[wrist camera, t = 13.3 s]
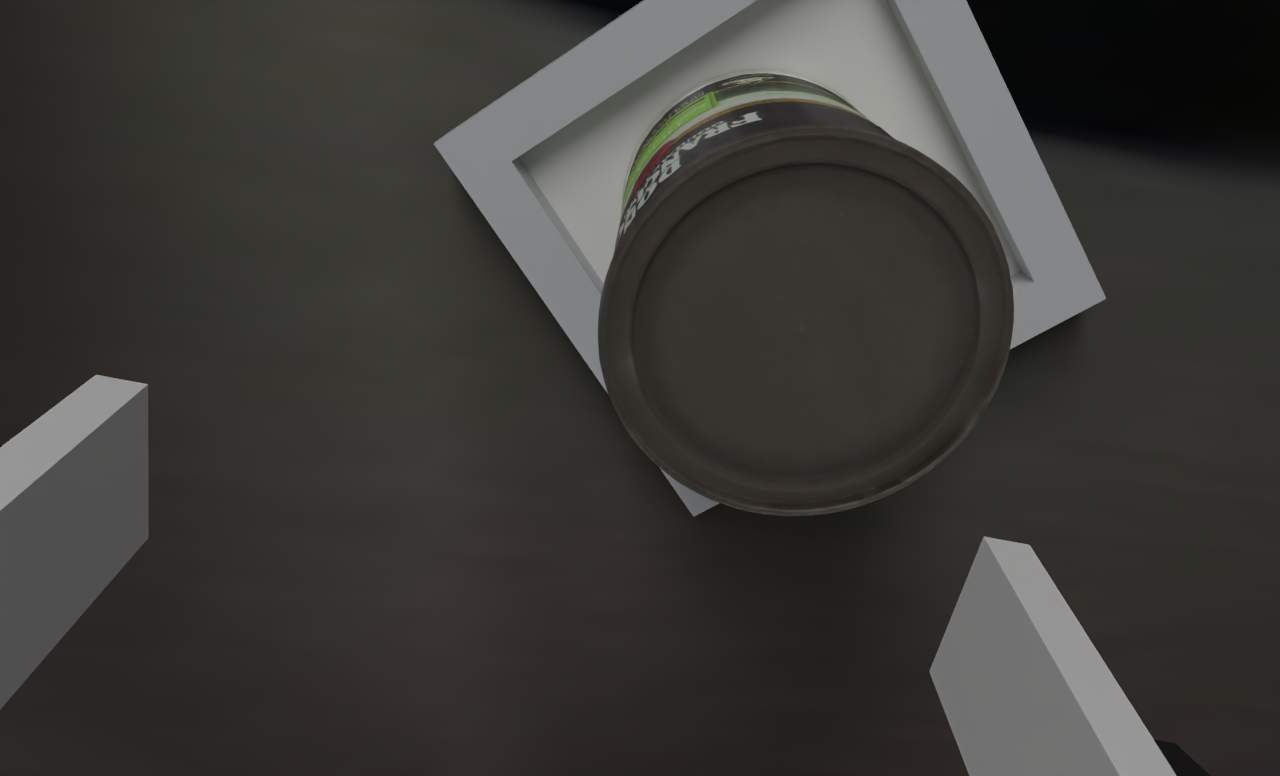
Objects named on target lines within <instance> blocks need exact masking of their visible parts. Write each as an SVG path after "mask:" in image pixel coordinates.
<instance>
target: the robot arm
mask: <svg viewBox="0 0 1280 776" xmlns="http://www.w3.org/2000/svg"><path fill="white" fill-rule="evenodd" d="M147 539H148V384H144V383H138V382H133V381H127V380H122V379H116V378H111V377H105V376H100V375H95V376H94V377H93V378H91V379H90V380H89V381H87V382H86V383H85V384H83V385H82V386H81V387H79V388H78V389H77V390H75V391H74V392H73V393H71V394H70V395H69V396H67V397H66V398H65V399H63V400H62V401H61V402H60V403H58V404H57V405H56V406H54V407H53V408H52V409H50V410H49V411H48V412H46V413H45V414H44V415H42V416H41V417H40V418H38V419H37V420H36V421H34V422H33V423H32V424H31V425H29V426H28V427H27V428H25V429H24V430H23V431H21V432H20V433H19V434H17V435H16V436H15V437H13V438H12V439H11V440H9V441H8V442H7V443H5V444H4V445H3V446H2V447H0V709H1V708H2V707H3V706H4V705H5V703H6V702H7V701H8V700H9V699H10V698H11V696H12V695H13V694H14V693H15V692H16V691H17V690H18V688H19V687H20V686H21V685H22V684H23V683H24V681H25V680H26V679H27V678H28V677H29V676H30V674H31V673H32V672H33V671H34V670H35V669H36V667H37V666H38V665H39V664H40V663H41V662H42V661H43V659H44V658H45V657H46V656H47V655H48V654H49V652H50V651H51V650H52V649H53V648H54V647H55V645H56V644H57V643H58V642H59V641H60V640H61V638H62V637H63V636H64V635H65V634H66V633H67V632H68V630H69V629H70V628H71V627H72V626H73V625H74V623H75V622H76V621H77V620H78V619H79V618H80V616H81V615H82V614H83V613H84V612H85V611H86V609H87V608H88V607H89V606H90V605H91V604H92V603H93V601H94V600H95V599H96V598H97V597H98V596H99V594H100V593H101V592H102V591H103V590H104V589H105V587H106V586H107V585H108V584H109V583H110V582H111V580H112V579H113V578H114V577H115V576H116V575H117V574H118V572H119V571H120V570H121V569H122V568H123V567H124V565H125V564H126V563H127V562H128V561H129V560H130V558H131V557H132V556H133V555H134V554H135V553H136V551H137V550H138V549H139V548H140V547H141V546H142V545H143V543H144V542H145V541H146V540H147ZM929 672H930V675H931V677H932V680H933V682H934V685H935V688H936V690H937V693H938V695H939V698H940V700H941V703H942V706H943V708H944V711H945V713H946V716H947V719H948V721H949V724H950V726H951V729H952V732H953V734H954V737H955V739H956V742H957V745H958V747H959V750H960V752H961V755H962V758H963V760H964V763H965V765H966V768H967V770H968V773H969V776H1210V775H1209V774H1208V773H1207V772H1206V771H1205V770H1204V769H1202V768H1201V767H1200V766H1199V765H1198V764H1197V763H1196V762H1195V761H1194V760H1193V759H1192V758H1191V757H1190V756H1188V755H1187V754H1186V753H1185V752H1184V751H1183V750H1182V749H1181V748H1180V747H1179V746H1178V745H1177V744H1175V743H1171V742H1165V741H1159V740H1154V739H1153V738H1152V736H1151V735H1150V733H1149V732H1148V730H1147V728H1146V727H1145V725H1144V724H1143V722H1142V721H1141V719H1140V718H1139V716H1138V714H1137V713H1136V711H1135V710H1134V708H1133V707H1132V705H1131V703H1130V702H1129V700H1128V699H1127V697H1126V696H1125V694H1124V692H1123V691H1122V689H1121V688H1120V686H1119V685H1118V683H1117V681H1116V680H1115V678H1114V677H1113V675H1112V674H1111V672H1110V670H1109V669H1108V667H1107V666H1106V664H1105V663H1104V661H1103V659H1102V658H1101V656H1100V655H1099V653H1098V652H1097V650H1096V648H1095V647H1094V645H1093V644H1092V642H1091V641H1090V639H1089V637H1088V636H1087V634H1086V633H1085V631H1084V630H1083V628H1082V627H1081V625H1080V623H1079V622H1078V620H1077V619H1076V617H1075V616H1074V614H1073V612H1072V611H1071V609H1070V608H1069V606H1068V605H1067V603H1066V601H1065V600H1064V598H1063V597H1062V595H1061V594H1060V592H1059V590H1058V589H1057V587H1056V586H1055V584H1054V583H1053V581H1052V579H1051V578H1050V576H1049V575H1048V573H1047V572H1046V570H1045V568H1044V567H1043V565H1042V564H1041V562H1040V561H1039V559H1038V557H1037V556H1036V554H1035V553H1034V551H1033V550H1032V548H1031V546H1030V545H1027V544H1021V543H1016V542H1011V541H1005V540H1000V539H994V538H989V537H983V540H982V542H981V545H980V547H979V550H978V552H977V555H976V557H975V560H974V562H973V565H972V567H971V570H970V572H969V575H968V577H967V579H966V582H965V584H964V587H963V589H962V592H961V594H960V597H959V599H958V602H957V604H956V607H955V609H954V612H953V614H952V617H951V619H950V622H949V624H948V627H947V629H946V632H945V634H944V637H943V639H942V642H941V644H940V647H939V649H938V651H937V654H936V656H935V659H934V661H933V664H932V666H931V669H930V671H929Z"/></svg>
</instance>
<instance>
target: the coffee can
mask: <svg viewBox="0 0 1280 776" xmlns="http://www.w3.org/2000/svg"><path fill="white" fill-rule="evenodd" d="M1013 323H1014V299H1013V286H1012V282H1011V278H1010V270H1009V265H1008V262H1007V259H1006V255H1005V252H1004V249H1003V247H1002V244H1001V242H1000V239H999V237H998V235H997V233H996V230H995V228H994V226H993V224H992V222H991V221H990V219H989V218H988V216H987V214H986V213H985V211H984V210H983V208H982V207H981V206H980V204H979V203H978V201H977V200H976V199H975V197H974V196H973V195H972V194H971V192H970V191H969V190H968V189H967V188H966V187H965V186H964V185H963V184H962V183H961V182H960V181H959V180H958V179H957V178H956V177H955V176H953V175H952V174H951V173H950V172H949V171H947V170H946V169H945V168H944V167H942V166H941V165H939V164H938V163H937V162H935V161H934V160H932V159H931V158H930V157H928V156H926V155H925V154H923V153H921V152H920V151H918V150H916V149H914V148H913V147H911V146H909V145H907V144H905V143H902V142H900V141H898V140H896V139H894V138H893V137H892V136H891V135H889V134H888V133H887V132H886V131H884V130H883V129H882V128H881V127H880V126H877V125H876V124H875V123H873V122H872V121H871V120H869V119H868V118H867V117H866V116H864V115H863V114H862V113H860V112H859V110H858V109H857V108H856V107H855V106H854V105H852V104H851V103H850V102H849V101H848V100H847V99H846V98H845V97H844V96H842V95H841V94H839V93H838V92H836V91H835V90H833V89H831V88H830V87H828V86H826V85H825V84H822V83H820V82H818V81H816V80H814V79H811V78H808V77H806V76H802V75H799V74H795V73H791V72H786V71H779V70H742V71H737V72H732V73H727V74H725V75H722V76H718V77H716V78H713V79H710V80H708V81H706V82H704V83H702V84H699V85H698V86H696V87H694V88H692V89H691V90H689V91H687V92H686V93H684V94H683V95H681V96H680V97H679V98H677V99H676V100H675V101H673V102H672V103H671V104H670V105H669V106H668V107H667V108H666V109H665V110H663V111H662V113H661V114H660V115H659V116H658V117H657V118H656V119H655V120H654V121H653V122H652V123H651V124H650V125H649V127H648V128H647V130H646V132H645V133H644V135H643V136H642V138H641V139H640V141H639V143H638V145H637V147H636V149H635V151H634V153H633V156H632V158H631V161H630V163H629V166H628V170H627V174H626V178H625V182H624V187H623V193H622V212H621V218H620V223H619V229H618V234H617V238H616V242H615V249H614V253H613V258H612V261H611V263H610V266H609V269H608V272H607V275H606V278H605V282H604V286H603V289H602V293H601V300H600V307H599V317H598V348H599V360H600V365H601V370H602V374H603V378H604V382H605V385H606V389H607V392H608V394H609V397H610V399H611V402H612V404H613V406H614V408H615V410H616V412H617V414H618V416H619V418H620V420H621V422H622V423H623V425H624V427H625V428H626V430H627V432H628V433H629V434H630V436H631V437H632V439H633V440H634V441H635V443H636V444H637V445H638V446H639V447H640V448H641V450H642V451H643V452H644V453H645V454H646V455H647V456H648V457H649V459H650V460H652V461H653V462H654V463H655V464H656V465H657V466H658V467H660V468H661V469H662V470H663V471H664V472H666V473H667V474H668V475H669V476H671V477H672V478H673V479H675V480H676V481H677V482H678V483H680V484H682V485H684V486H685V487H687V488H689V489H690V490H692V491H694V492H696V493H698V494H700V495H702V496H704V497H706V498H708V499H710V500H712V501H715V502H718V503H721V504H724V505H727V506H730V507H733V508H736V509H740V510H744V511H749V512H753V513H759V514H767V515H775V516H812V515H821V514H829V513H835V512H840V511H844V510H848V509H852V508H855V507H859V506H862V505H865V504H868V503H871V502H874V501H877V500H879V499H882V498H884V497H886V496H889V495H891V494H893V493H895V492H897V491H899V490H900V489H902V488H904V487H906V486H908V485H910V484H911V483H913V482H915V481H916V480H917V479H919V478H920V477H922V476H924V475H925V474H927V473H928V472H929V471H931V470H932V469H933V468H934V467H935V466H937V465H938V464H940V463H941V462H942V461H943V460H944V459H946V458H947V457H948V456H949V455H950V454H951V453H952V452H953V451H954V450H955V449H956V448H957V447H958V446H959V445H960V444H961V443H962V442H963V441H964V440H965V438H966V437H967V436H968V435H969V433H970V432H971V431H972V430H973V429H974V427H975V426H976V424H977V423H978V422H979V420H980V418H981V417H982V415H983V414H984V412H985V411H986V409H987V407H988V406H989V404H990V402H991V400H992V398H993V396H994V394H995V392H996V390H997V388H998V385H999V383H1000V381H1001V378H1002V376H1003V373H1004V370H1005V367H1006V363H1007V360H1008V357H1009V352H1010V346H1011V340H1012V333H1013Z"/></svg>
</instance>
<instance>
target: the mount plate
mask: <svg viewBox="0 0 1280 776" xmlns="http://www.w3.org/2000/svg"><path fill="white" fill-rule="evenodd" d="M742 70H779V71H786V72H791V73H795V74H799V75H802V76H806V77H808V78H811V79H814V80H816V81H818V82H820V83H822V84H825V85H826V86H828V87H830V88H831V89H833V90H835V91H836V92H838V93H839V94H841V95H842V96H844V97H845V98H846V99H847V100H848V101H849V102H850V103H851V104H852V105H854V106H855V107H856V108H857V109H858V110H859V112H860V113H862V114H863V115H864V116H866V117H867V118H868V119H869V120H871V121H872V122H873V123H875V124H876V125H877V126H880V127H881V128H882V129H883V130H884V131H886V132H887V133H888V134H889V135H891V136H892V137H893V138H894V139H896V140H898V141H900V142H902V143H905V144H907V145H909V146H911V147H913V148H914V149H916V150H918V151H920V152H921V153H923V154H925V155H926V156H928V157H930V158H931V159H932V160H934V161H935V162H937V163H938V164H939V165H941V166H942V167H944V168H945V169H946V170H947V171H949V172H950V173H951V174H952V175H953V176H955V177H956V178H957V179H958V180H959V181H960V182H961V183H962V184H963V185H964V186H965V187H966V188H967V189H968V190H969V191H970V192H971V194H972V195H973V196H974V197H975V199H976V200H977V201H978V203H979V204H980V206H981V207H982V208H983V210H984V211H985V213H986V214H987V216H988V218H989V219H990V221H991V222H992V224H993V226H994V228H995V230H996V233H997V235H998V237H999V239H1000V242H1001V244H1002V247H1003V249H1004V252H1005V255H1006V259H1007V262H1008V265H1009V270H1010V278H1011V282H1012V286H1013V299H1014V323H1013V333H1012V340H1011V346H1010V349H1012V348H1014V347H1016V346H1017V345H1019V344H1021V343H1023V342H1025V341H1027V340H1029V339H1031V338H1033V337H1034V336H1036V335H1038V334H1040V333H1042V332H1044V331H1046V330H1048V329H1050V328H1051V327H1053V326H1055V325H1057V324H1059V323H1061V322H1063V321H1065V320H1067V319H1068V318H1070V317H1072V316H1074V315H1076V314H1078V313H1080V312H1082V311H1084V310H1085V309H1087V308H1089V307H1091V306H1093V305H1095V304H1097V303H1099V302H1101V301H1102V300H1104V299H1106V297H1105V295H1104V293H1103V291H1102V289H1101V286H1100V284H1099V282H1098V280H1097V278H1096V276H1095V274H1094V272H1093V269H1092V267H1091V265H1090V263H1089V261H1088V259H1087V257H1086V255H1085V252H1084V250H1083V248H1082V246H1081V244H1080V242H1079V240H1078V238H1077V235H1076V233H1075V231H1074V229H1073V227H1072V225H1071V223H1070V221H1069V218H1068V216H1067V214H1066V212H1065V210H1064V208H1063V206H1062V203H1061V201H1060V199H1059V197H1058V195H1057V193H1056V191H1055V189H1054V186H1053V184H1052V182H1051V180H1050V178H1049V176H1048V174H1047V172H1046V169H1045V167H1044V165H1043V163H1042V161H1041V159H1040V157H1039V155H1038V152H1037V150H1036V148H1035V146H1034V144H1033V142H1032V140H1031V138H1030V135H1029V133H1028V131H1027V129H1026V127H1025V125H1024V123H1023V121H1022V118H1021V116H1020V114H1019V112H1018V110H1017V108H1016V106H1015V104H1014V101H1013V99H1012V97H1011V95H1010V93H1009V91H1008V89H1007V87H1006V84H1005V82H1004V80H1003V78H1002V76H1001V74H1000V72H999V70H998V67H997V65H996V63H995V61H994V59H993V57H992V55H991V53H990V50H989V48H988V46H987V44H986V42H985V40H984V38H983V36H982V33H981V31H980V29H979V27H978V25H977V23H976V21H975V19H974V16H973V14H972V12H971V10H970V8H969V6H968V4H967V1H966V0H643V1H642V2H640V3H639V4H637V5H636V6H634V7H633V8H631V9H630V10H628V11H627V12H625V13H624V14H622V15H621V16H619V17H618V18H616V19H615V20H614V21H612V22H611V23H609V24H608V25H606V26H605V27H603V28H602V29H600V30H599V31H597V32H596V33H594V34H593V35H591V36H590V37H588V38H587V39H585V40H584V41H583V42H581V43H580V44H578V45H577V46H575V47H574V48H572V49H571V50H569V51H568V52H566V53H565V54H563V55H562V56H560V57H559V58H557V59H556V60H554V61H553V62H552V63H550V64H549V65H547V66H546V67H544V68H543V69H541V70H540V71H538V72H537V73H535V74H534V75H532V76H531V77H529V78H528V79H526V80H525V81H523V82H522V83H521V84H519V85H518V86H516V87H515V88H513V89H512V90H510V91H509V92H507V93H506V94H504V95H503V96H501V97H500V98H498V99H497V100H495V101H494V102H492V103H491V104H490V105H488V106H487V107H485V108H484V109H482V110H481V111H479V112H478V113H476V114H475V115H473V116H472V117H470V118H469V119H467V120H466V121H464V122H463V123H461V124H460V125H458V126H457V127H456V128H454V129H453V130H451V131H450V132H448V133H447V134H445V135H444V136H443V137H441V138H440V139H439V140H438V141H436V142H435V143H434V145H435V146H436V148H437V149H438V151H439V152H440V154H441V155H442V156H443V158H444V159H445V161H446V162H447V164H448V165H449V166H450V168H451V169H452V171H453V172H454V174H455V175H456V176H457V178H458V179H459V181H460V182H461V184H462V185H463V187H464V188H465V189H466V191H467V192H468V194H469V195H470V197H471V198H472V199H473V201H474V202H475V204H476V205H477V207H478V208H479V210H480V211H481V212H482V214H483V215H484V217H485V218H486V220H487V221H488V222H489V224H490V225H491V227H492V228H493V230H494V231H495V232H496V234H497V235H498V237H499V238H500V240H501V241H502V243H503V244H504V245H505V247H506V248H507V250H508V251H509V253H510V254H511V255H512V257H513V258H514V260H515V261H516V263H517V264H518V265H519V267H520V268H521V270H522V271H523V273H524V274H525V276H526V277H527V278H528V280H529V281H530V283H531V284H532V286H533V287H534V288H535V290H536V291H537V293H538V294H539V296H540V297H541V298H542V300H543V301H544V303H545V304H546V306H547V307H548V309H549V310H550V311H551V313H552V314H553V316H554V317H555V319H556V320H557V321H558V323H559V324H560V326H561V327H562V329H563V330H564V331H565V333H566V334H567V336H568V337H569V339H570V340H571V342H572V343H573V344H574V346H575V347H576V349H577V350H578V352H579V353H580V354H581V356H582V357H583V359H584V360H585V362H586V363H587V364H588V366H589V367H590V369H591V370H592V372H593V373H594V375H595V376H596V377H597V379H598V380H599V382H600V383H601V385H602V386H603V387H604V389H605V390H606V392H607V389H606V385H605V382H604V378H603V374H602V370H601V365H600V360H599V348H598V317H599V307H600V300H601V293H602V289H603V286H604V282H605V278H606V275H607V272H608V269H609V266H610V263H611V261H612V258H613V253H614V249H615V242H616V238H617V234H618V229H619V223H620V218H621V212H622V193H623V187H624V182H625V178H626V174H627V170H628V166H629V163H630V161H631V158H632V156H633V153H634V151H635V149H636V147H637V145H638V143H639V141H640V139H641V138H642V136H643V135H644V133H645V132H646V130H647V128H648V127H649V125H650V124H651V123H652V122H653V121H654V120H655V119H656V118H657V117H658V116H659V115H660V114H661V113H662V111H663V110H665V109H666V108H667V107H668V106H669V105H670V104H671V103H672V102H673V101H675V100H676V99H677V98H679V97H680V96H681V95H683V94H684V93H686V92H687V91H689V90H691V89H692V88H694V87H696V86H698V85H699V84H702V83H704V82H706V81H708V80H710V79H713V78H716V77H718V76H722V75H725V74H727V73H732V72H737V71H742ZM607 393H608V392H607ZM608 395H609V394H608ZM659 468H660V467H659ZM660 469H661V468H660ZM661 471H662V472H663V474H664V475H665V476H666V478H667V479H668V481H669V482H670V484H671V485H672V486H673V488H674V489H675V491H676V492H677V494H678V495H679V497H680V498H681V499H682V501H683V502H684V504H685V505H686V507H687V508H688V509H689V511H690V512H691V514H692V515H693V517H694V516H696V515H698V514H700V513H702V512H704V511H706V510H708V509H709V508H711V507H713V506H715V505H717V504H719V503H718V502H715V501H712V500H710V499H708V498H706V497H704V496H702V495H700V494H698V493H696V492H694V491H692V490H690V489H689V488H687V487H685V486H684V485H682V484H680V483H678V482H677V481H676V480H675V479H673V478H672V477H671V476H669V475H668V474H667V473H666V472H664V471H663V470H662V469H661Z"/></svg>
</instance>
